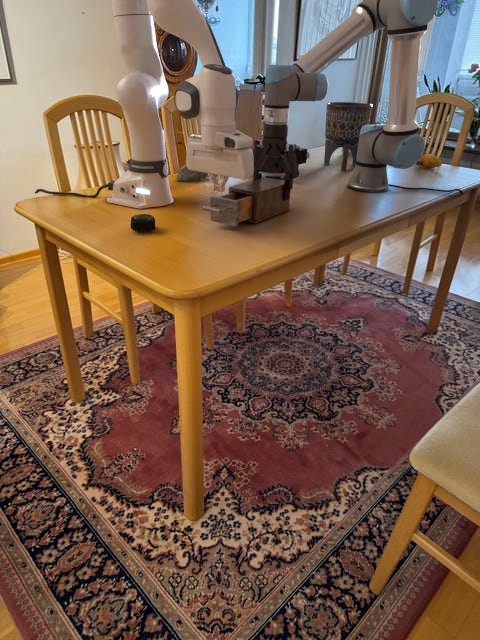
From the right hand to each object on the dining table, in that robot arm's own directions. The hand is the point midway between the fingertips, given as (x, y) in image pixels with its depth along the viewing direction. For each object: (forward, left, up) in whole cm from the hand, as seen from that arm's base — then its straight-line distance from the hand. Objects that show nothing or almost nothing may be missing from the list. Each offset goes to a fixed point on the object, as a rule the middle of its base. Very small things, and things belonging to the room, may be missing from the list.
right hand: (271, 196), depth 148 cm
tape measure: (+36, +26, -4) cm, 44 cm away
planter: (-32, -72, -4) cm, 79 cm away
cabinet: (+4, +6, -4) cm, 8 cm away
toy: (-72, -79, -4) cm, 107 cm away
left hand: (+14, +25, +8) cm, 30 cm away
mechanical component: (-3, -54, -4) cm, 54 cm away
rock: (+32, -37, -4) cm, 48 cm away
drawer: (+10, +17, -2) cm, 20 cm away
